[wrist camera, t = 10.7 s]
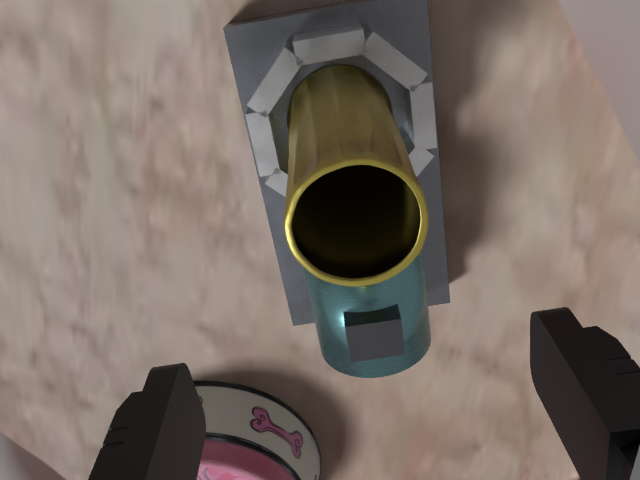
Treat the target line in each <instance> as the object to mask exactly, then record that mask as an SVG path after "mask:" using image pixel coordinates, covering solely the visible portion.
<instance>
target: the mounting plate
mask: <svg viewBox="0 0 640 480" xmlns="http://www.w3.org/2000/svg"><path fill="white" fill-rule="evenodd" d="M223 29H224V33H225V38H226V42H227V46H228V50H229V55H230V59H231V63H232V67H233V72H234V76H235V80H236V84H237V89H238V93H239V97H240V101H241V106H242V110H243V114H244V118H245V123H246V127H247V131H248V135H249V140H250V144H251V148H252V152H253V157H254V161H255V165H256V169H257V174H258V178H259V182H260V186H261V191H262V195H263V199H264V203H265V208H266V212H267V216H268V221H269V225H270V229H271V233H272V238H273V242H274V246H275V250H276V255H277V259H278V263H279V267H280V272H281V276H282V280H283V284H284V289H285V293H286V297H287V301H288V306H289V310H290V314H291V318H292V323H293V326H295V325H302V324H308V323H315V324H316V329H317V333H318V338H319V343H320V348H321V352H322V355H323V357H324V359H325V361H326V362H327V363H328V364H329V365H330V366H331V367H332V368H334V369H336V370H337V371H339V372H341V373H344V374H347V375H350V376H355V377H362V378H376V377H384V376H389V375H393V374H396V373H399V372H401V371H404V370H406V369H408V368H410V367H411V366H413V365H414V364H416V363H417V362H418V361H419V360H421V359H422V357H423V356H424V355H425V354H426V352H427V351H428V349H429V346H430V342H431V332H430V322H429V312H428V306H431V305H438V304H445V303H450V295H449V281H448V268H447V255H446V241H445V228H444V215H443V201H442V188H441V175H440V161H439V148H438V135H437V121H436V108H435V95H434V81H433V68H432V55H431V41H430V28H429V15H428V1H427V0H352V1H347V2H342V3H336V4H331V5H325V6H320V7H314V8H309V9H304V10H298V11H293V12H287V13H282V14H276V15H271V16H266V17H260V18H255V19H249V20H244V21H238V22H233V23H228V24H227V25H226V26H225V27H224V28H223ZM330 66H351V67H355V68H358V69H361V70H363V71H365V72H367V73H369V74H370V75H372V76H373V77H374V78H376V79H377V80H378V81H379V82H380V83H381V85H382V86H383V87H384V89H385V90H386V92H387V94H388V96H389V98H390V101H391V105H392V111H393V117H394V119H395V121H396V124H397V127H398V130H399V133H400V135H401V137H402V140H403V142H404V145H405V148H406V150H407V153H408V156H409V158H410V161H411V164H412V167H413V170H414V172H415V175H416V177H417V179H418V181H419V183H420V185H421V187H422V189H423V192H424V195H425V198H426V203H427V209H428V216H429V227H428V232H427V236H426V239H425V242H424V245H423V247H422V250H421V252H420V253H419V254H418V256H417V257H416V258H415V259H414V260H413V262H412V263H411V264H410V265H409V266H408V267H406V268H405V269H404V270H403V271H401V272H400V273H398V274H397V275H395V276H394V277H392V278H390V279H388V280H385V281H383V282H380V283H377V284H372V285H368V286H351V287H348V286H343V285H337V284H333V283H329V282H326V281H324V280H321V279H319V278H317V277H316V276H314V275H313V274H311V273H310V272H309V271H308V270H307V269H305V268H304V267H303V266H302V265H301V264H300V263H299V262H298V261H297V260H296V258H295V257H294V256H293V254H292V252H291V250H290V248H289V246H288V243H287V240H286V236H285V229H284V213H285V200H286V188H287V178H288V162H289V139H288V132H289V130H288V126H287V112H288V107H289V102H290V100H291V97H292V95H293V93H294V91H295V90H296V89H297V87H298V86H299V85H300V84H301V83H302V81H303V80H304V79H306V78H307V77H308V76H310V75H311V74H313V73H315V72H317V71H319V70H321V69H324V68H326V67H330Z"/></svg>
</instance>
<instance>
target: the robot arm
mask: <svg viewBox="0 0 640 480" xmlns="http://www.w3.org/2000/svg"><path fill="white" fill-rule="evenodd" d="M530 368H531V375H532V379H533V383H534V386H535V389H536V391H537V393H538V395H539V397H540V399H541V401H542V403H543V405H544V407H545V409H546V411H547V413H548V415H549V417H550V419H551V421H552V423H553V425H554V427H555V429H556V431H557V433H558V435H559V437H560V439H561V441H562V443H563V445H564V447H565V449H566V451H567V452H568V454H569V456H570V458H571V460H572V462H573V464H574V466H575V468H576V470H577V472H578V474H579V476H580V478H581V480H640V368H639V366H638V365H637V364H636V362H635V361H634V360H632V359H631V356H630V355H629V353H628V352H627V351H626V350H625V348H624V347H623V346H622V344H621V343H620V342H619V341H618V339H616V338H615V337H613V336H612V335H610V334H608V333H607V332H605V331H604V330H602V329H600V328H599V327H597V326H593V327H586V328H583V327H582V326H581V324H580V323H579V322H578V320H577V319H576V317H575V316H574V315H573V313H572V312H571V311H570V309H569V308H567V307H563V308H556V309H550V310H543V311H536V312H532V314H531V318H530ZM205 437H206V420H205V414H204V410H203V407H202V404H201V401H200V399H199V396H198V393H197V390H196V388H195V385H194V382H193V379H192V377H191V374H190V371H189V369H188V367H187V365H186V364H185V363H180V364H173V365H166V366H159V367H153V368H152V369H151V370H150V372H149V374H148V377H147V380H146V382H145V385H144V388H143V391H140V392H133V393H131V394H130V395H129V397H128V398H127V399H126V400H125V401H124V402H123V404H122V405H121V406H120V407H119V408H118V409H117V410H116V413H115V415H114V418H113V420H112V423H111V425H110V428H109V433H107V435H106V437H105V440H104V442H103V448H101V449H100V452H99V454H98V457H97V459H96V462H95V464H94V467H93V469H92V471H91V474H90V476H89V479H88V480H197V475H198V471H199V466H200V461H201V456H202V451H203V447H204V442H205Z"/></svg>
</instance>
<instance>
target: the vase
mask: <svg viewBox="0 0 640 480" xmlns="http://www.w3.org/2000/svg"><path fill="white" fill-rule="evenodd" d="M287 126H288V130H289V132H288V139H289V162H288V178H287V188H286V200H285V213H284V229H285V236H286V240H287V243H288V246H289V248H290V250H291V252H292V254H293V256H294V257H295V258H296V260H297V261H298V262H299V263H300V264H301V265H302V266H303V267H304V268H305V269H307V270H308V271H309V272H310V273H311V274H313V275H314V276H316V277H317V278H319V279H321V280H324V281H326V282H329V283H333V284H337V285H343V286H348V287H351V286H368V285H372V284H377V283H380V282H383V281H385V280H388V279H390V278H392V277H394V276H395V275H397V274H398V273H400V272H401V271H403V270H404V269H405V268H406V267H408V266H409V265H410V264H411V263H412V262H413V260H414V259H415V258H416V257H417V256H418V254H419V253H420V252H421V250H422V247H423V245H424V242H425V239H426V236H427V232H428V227H429V216H428V209H427V203H426V198H425V195H424V192H423V189H422V187H421V185H420V183H419V181H418V179H417V177H416V175H415V172H414V170H413V167H412V164H411V161H410V158H409V156H408V153H407V150H406V148H405V145H404V142H403V140H402V137H401V135H400V133H399V130H398V127H397V124H396V121H395V119H394V117H393V111H392V105H391V101H390V98H389V96H388V94H387V92H386V90H385V89H384V87H383V86H382V85H381V83H380V82H379V81H378V80H377V79H376V78H374V77H373V76H372V75H370V74H369V73H367V72H365V71H363V70H361V69H358V68H355V67H351V66H330V67H326V68H324V69H321V70H319V71H317V72H315V73H313V74H311V75H310V76H308V77H307V78H306V79H304V80H303V81H302V83H301V84H300V85H299V86H298V87H297V89H296V90H295V91H294V93H293V95H292V97H291V100H290V102H289V107H288V112H287Z"/></svg>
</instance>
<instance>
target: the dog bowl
mask: <svg viewBox="0 0 640 480" xmlns="http://www.w3.org/2000/svg"><path fill="white" fill-rule="evenodd" d="M193 382H194V385H195V388H196V390H197V393H198V396H199V399H200V401H201V404H202V407H203V410H204V414H205V420H206V437H205V442H204V447H203V451H202V456H201V461H200V466H199V471H198V475H197V480H318V479H319V475H320V472H321V455H320V451H319V447H318V444H317V441H316V439H315V437H314V435H313V433H312V431H311V429H310V428H309V426H308V425H307V424H306V422H305V421H304V420H303V419H302V418H301V417H300V416H299V415H298V413H296V412H295V411H294V410H293V409H292V408H290V407H289V406H288V405H286V404H285V403H284V402H282V401H280V400H279V399H277V398H275V397H273V396H271V395H269V394H267V393H264V392H262V391H259V390H256V389H253V388H250V387H246V386H243V385H238V384H233V383H227V382H217V381H193ZM108 433H109V430H108Z"/></svg>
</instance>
